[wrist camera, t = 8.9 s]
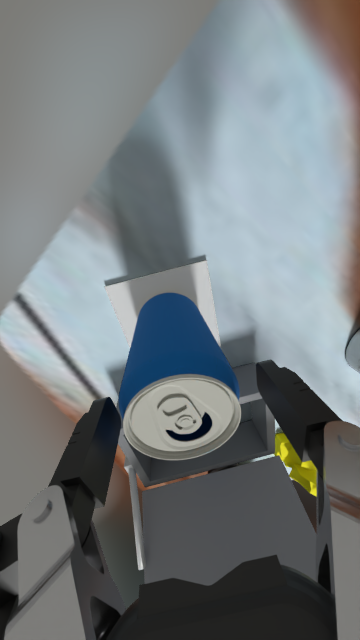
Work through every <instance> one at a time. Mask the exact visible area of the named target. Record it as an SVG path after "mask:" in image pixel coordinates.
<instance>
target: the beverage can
mask: <svg viewBox="0 0 360 640" xmlns="http://www.w3.org/2000/svg"><path fill="white" fill-rule="evenodd" d="M239 397H240V389H239V383H238V380H237V377H236V375H235V373H234V371H233V370H232V368H231V366H230V364H229V363H228V361H227V359H226V357H225V355H224V354H223V352H222V350H221V348H220V347H219V345H218V343H217V341H216V339H215V338H214V336H213V334H212V332H211V331H210V329H209V327H208V325H207V324H206V322H205V320H204V318H203V316H202V315H201V313H200V311H199V309H198V308H197V306H196V305H195V303H194V302H193V301H192V300H191V299H189V298H188V297H186V296H184V295H181V294H178V293H162V294H159V295H156V296H154V297H152V298H151V299H149V300H148V301H147V302H146V303H145V304H144V305H143V307H142V308H141V310H140V312H139V315H138V319H137V323H136V327H135V331H134V335H133V339H132V343H131V347H130V351H129V356H128V360H127V364H126V368H125V372H124V376H123V380H122V384H121V388H120V392H119V410H120V414H121V417H122V419H123V430H124V434H125V436H126V438H127V440H128V441H129V443H130V444H131V445H132V446H133V447H134V448H135V449H137V450H138V451H140V452H141V453H143V454H145V455H148V456H150V457H153V458H157V459H163V460H185V459H191V458H195V457H199V456H202V455H204V454H207V453H209V452H211V451H213V450H215V449H217V448H218V447H220V446H221V445H223V444H224V443H225V442H226V441H227V440H229V438H230V437H231V436H232V435H233V434H234V432H235V431H236V429H237V427H238V425H239V423H240V419H241V406H240V403H239Z"/></svg>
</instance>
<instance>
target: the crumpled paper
mask: <svg viewBox="0 0 360 640" xmlns="http://www.w3.org/2000/svg"><path fill="white" fill-rule="evenodd" d="M274 455H275V456H278V455H279V456H280V458H281V460H282V461H283V462H284V463H285V465H286V467H291V468H292V470H291V472H290V475H289V477H291V478H292V479H294V480H296V481H297V482H299V483H300V484H301V485H302V486H303V487H304V488H305V489H306V490H307V491H308V492H309V493H311V494H313V495H314V496H316V497H317V483H316V470H317V469H316V467H315V466H314V464H313V463H312V461H311V460H310V461H306V462H302V461H301V460H300V458H299V456H298V455H297V453H296V451H295V450H294V448H293V447H292V445H291V443H290V442H289V440H288V439H287V437H286V435H285V434H284V433H280V434H276V435H275V453H274Z"/></svg>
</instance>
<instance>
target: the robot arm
mask: <svg viewBox="0 0 360 640" xmlns="http://www.w3.org/2000/svg"><path fill="white" fill-rule="evenodd" d="M346 360H347V363H348V364H349V366H350V367H352V368H353V369H354V370H356V371H357V372H359V373H360V329H359V330H358V331H357V332H356V334H355V335H354V336H353V338H352V339H351V341H350V343H349V345H348V347H347V351H346ZM256 377H257V387H258V390H259V393H260V395H261V397H262V398H263V400H264V402H265V403H266V405H267V406H268V408H269V410H270V411H271V413H272V414H273V416H274V418H275V419H276V421H277V422H278V424H279V426H280V427H281V429H282V431H283V432H284V434H285V435H286V437H287V439H288V440H289V442H290V443H291V445H292V447H293V448H294V450H295V451H296V453H297V455H298V456H299V458H300V460H301V461H302V462H306V461H310V460H311V461H312V463H313V464H314V466H315V467H316V469H317V471H316V483H317V536H316V581H315V580H313V579H312V578H310V577H309V576H307V575H306V574H304V573H302V572H300V571H298V570H296V569H294V568H291V567H288V566H285V565H280V562H279V559H278V557H277V555H272V556H268V557H263V558H259V559H254V560H250V561H245V562H242V563H241V564H240V565H238V566H237V567H236V568H234V569H233V570H232V571H230V572H229V573H227V574H226V575H225V576H223V577H222V578H221V579H219V580H218V581H217V582H215V583H214V584H212V585H209V586H207V585H202V584H198V583H194V582H189V581H185V580H181V579H177V578H169V579H165V580H160V581H156V582H152V583H147V584H143V585H140V587H139V588H140V589H139V598H138V599H137V600H136V601H135V602H133V603H132V604H131V605H130V606H129V607H128V608H127V610H126V608H125V605H124V602H123V599H122V597H121V595H120V592H119V590H118V588H117V586H116V584H115V583H114V581H113V579H112V577H111V575H110V572H109V570H108V567H107V564H106V560H105V557H104V554H103V551H102V548H101V545H100V542H99V539H98V536H97V532H96V529H95V526H94V523H93V521H92V515H93V511H94V509H95V508H99V507H104V505H105V501H106V496H107V491H108V487H109V482H110V477H111V473H112V468H113V463H114V458H115V454H116V449H117V444H118V440H119V435H120V430H121V417H120V414H119V413H118V411H117V409H116V407H115V405H114V403H113V401H112V399H111V398H110V397H107V398H102V399H98V400H95V401H93V403H92V405H91V408H90V410H89V412H88V413H85V414H84V415H83V416H82V418H81V419H80V420H79V421H78V423H77V425H76V427H75V429H74V432H73V433H72V436H71V438H70V440H69V442H68V446H67V447H66V449H65V451H64V453H63V455H62V458H61V460H60V462H59V464H58V467H57V469H56V471H55V473H54V475H53V478H52V480H51V482H50V484H49V486H48V487H47V488H45V489H44V490H42V491H41V492H40V493H38V494H37V495H36V496H35V497H34V498H33V499H32V500H31V502H30V503H29V504H28V506H27V507H26V508H25V510H24V512H23V513H22V514H20V515H19V516H17V517H15V518H13V519H12V520H10V521H8V522H7V523H5V524H3V525H2V526H0V640H360V428H359V427H358V426H356V425H353V424H351V423H348V422H345V421H342V420H341V419H340V418H339V417H338V416H337V415H336V414H335V413H334V412H333V411H332V410H331V409H330V408H329V407H328V406H327V405H326V404H325V403H324V402H323V401H322V400H321V399H320V398H319V397H318V396H317V395H316V394H315V393H314V391H313V390H311V389H310V387H309V386H308V385H307V384H306V383H304V382H303V380H302V379H301V378H300V377H299V376H298V375H297V374H296V373H295V372H293V371H291V370H289V369H287V368H286V367H283V368H279V367H278V366H277V365H276V364H275V363H274V361H272V360H267V361H263V362H258V363H256Z"/></svg>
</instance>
